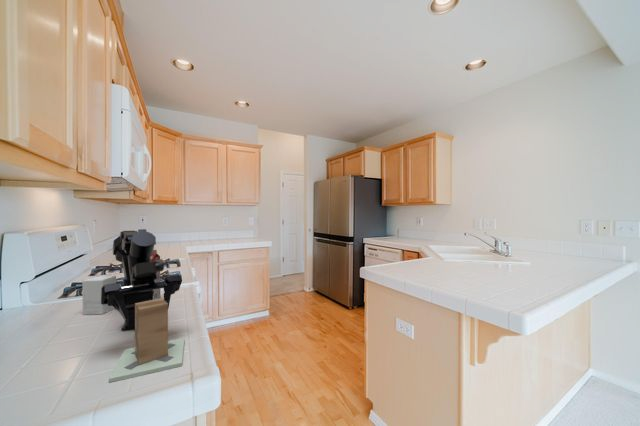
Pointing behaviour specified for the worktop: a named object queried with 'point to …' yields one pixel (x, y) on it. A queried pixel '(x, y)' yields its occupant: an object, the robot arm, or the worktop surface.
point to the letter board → (131, 367)
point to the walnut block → (151, 330)
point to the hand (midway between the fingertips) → (147, 315)
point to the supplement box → (95, 294)
